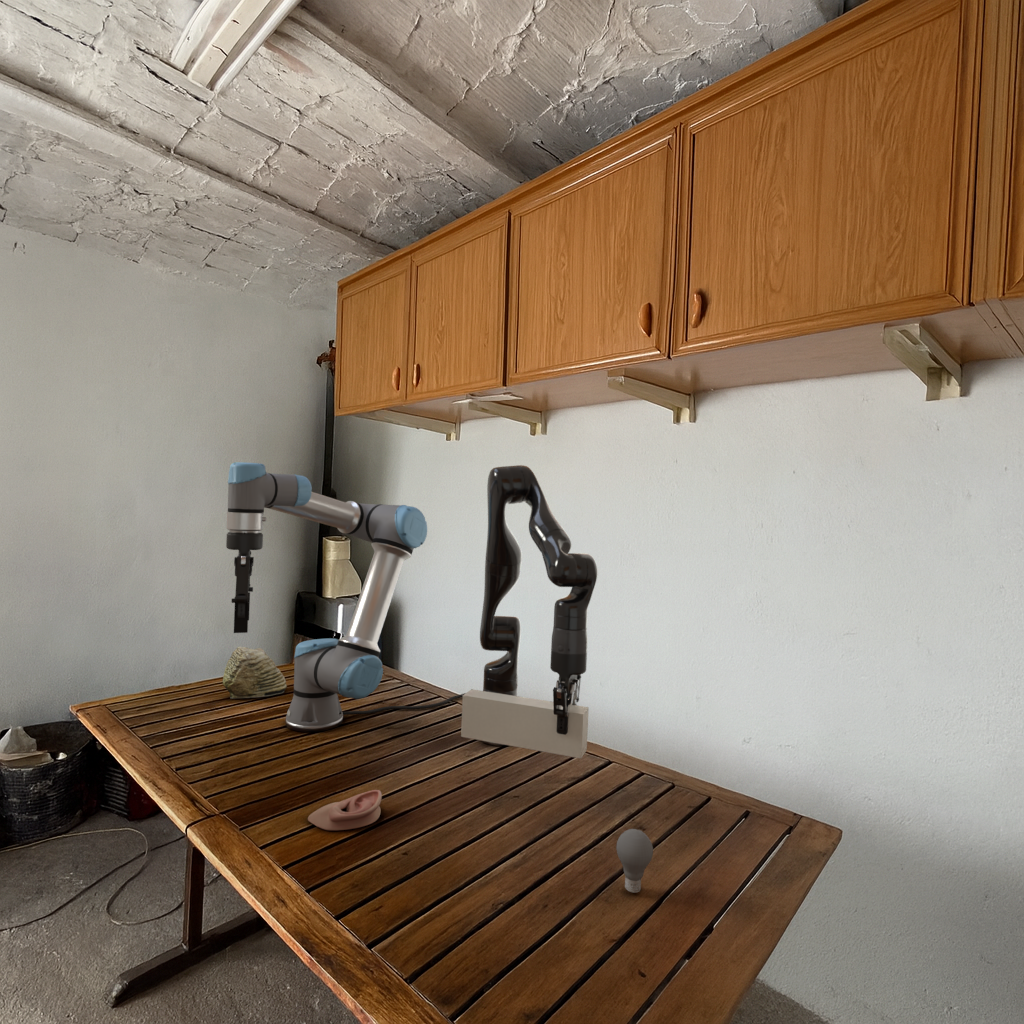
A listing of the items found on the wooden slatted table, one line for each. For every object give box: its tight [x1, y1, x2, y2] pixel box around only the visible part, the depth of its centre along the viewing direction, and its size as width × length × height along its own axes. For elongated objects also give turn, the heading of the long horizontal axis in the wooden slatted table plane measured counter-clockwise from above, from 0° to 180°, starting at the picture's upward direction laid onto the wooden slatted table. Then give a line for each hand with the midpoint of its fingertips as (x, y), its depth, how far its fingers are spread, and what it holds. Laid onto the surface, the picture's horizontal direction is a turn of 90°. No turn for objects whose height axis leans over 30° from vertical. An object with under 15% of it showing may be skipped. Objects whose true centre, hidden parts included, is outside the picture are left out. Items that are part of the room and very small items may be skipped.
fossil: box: [222, 646, 288, 699], centre depth 198 cm, size 9×18×15 cm, turn 132°
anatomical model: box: [307, 789, 383, 831], centre depth 126 cm, size 13×4×12 cm
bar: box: [460, 688, 590, 760], centre depth 136 cm, size 27×5×9 cm, turn 70°
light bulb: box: [615, 828, 654, 894], centre depth 106 cm, size 6×6×10 cm
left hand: (241, 626), depth 142 cm, fingers open, 13 cm apart
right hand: (565, 728), depth 133 cm, fingers closed on bar, 5 cm apart
